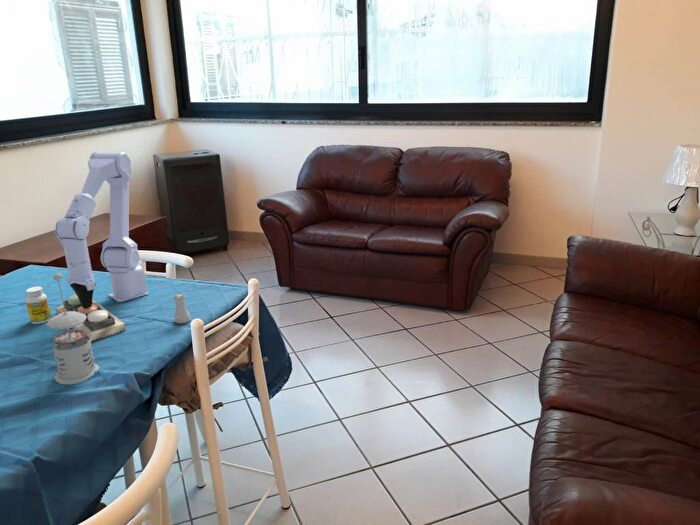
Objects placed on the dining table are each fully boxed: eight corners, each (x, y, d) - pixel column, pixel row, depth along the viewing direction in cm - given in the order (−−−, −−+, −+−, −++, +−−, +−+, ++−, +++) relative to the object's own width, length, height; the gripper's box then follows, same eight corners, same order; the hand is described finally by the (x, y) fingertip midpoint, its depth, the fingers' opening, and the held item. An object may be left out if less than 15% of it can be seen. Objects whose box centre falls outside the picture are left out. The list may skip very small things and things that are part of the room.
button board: (91, 303, 173) (89, 292, 172) (125, 330, 156) (123, 317, 154) (56, 313, 167) (54, 301, 165) (87, 342, 149) (85, 329, 148)
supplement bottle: (50, 314, 166) (43, 284, 163) (53, 321, 162) (46, 289, 159) (29, 319, 164) (22, 288, 160) (31, 326, 159) (24, 294, 156)
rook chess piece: (194, 318, 162) (191, 292, 159) (183, 325, 158) (180, 298, 155) (181, 316, 164) (178, 290, 161) (170, 322, 160) (167, 296, 157)
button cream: (104, 315, 158) (103, 308, 157) (111, 320, 154) (110, 313, 154) (85, 320, 155) (84, 314, 154) (92, 326, 151) (91, 319, 151)
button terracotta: (94, 309, 164) (93, 302, 163) (100, 314, 160) (99, 307, 160) (76, 314, 161) (74, 308, 160) (82, 320, 157) (81, 313, 156)
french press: (53, 388, 129) (30, 284, 120) (55, 364, 139) (34, 267, 130) (100, 378, 132) (81, 277, 124) (99, 356, 142) (81, 260, 134)
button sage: (83, 298, 169) (82, 292, 168) (90, 303, 166) (88, 297, 165) (66, 303, 166) (64, 297, 165) (72, 308, 162) (70, 302, 162)
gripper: (53, 258, 158) (63, 303, 162) (71, 271, 148) (81, 319, 152) (80, 252, 162) (88, 296, 167) (99, 264, 152) (108, 311, 157)
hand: (87, 307), depth 160 cm, fingers closed
